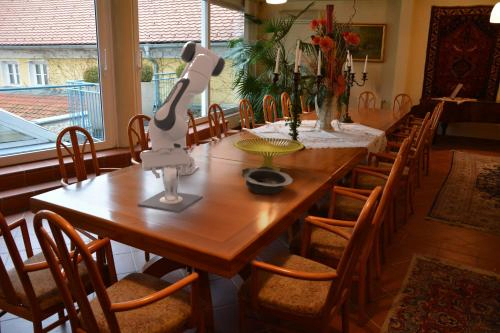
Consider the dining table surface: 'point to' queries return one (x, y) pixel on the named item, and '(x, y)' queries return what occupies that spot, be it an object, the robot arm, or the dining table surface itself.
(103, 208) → the dining table surface
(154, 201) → the place mat
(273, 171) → the stone bowl
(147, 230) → the dining table surface
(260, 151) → the cake stand
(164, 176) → the beer glass
